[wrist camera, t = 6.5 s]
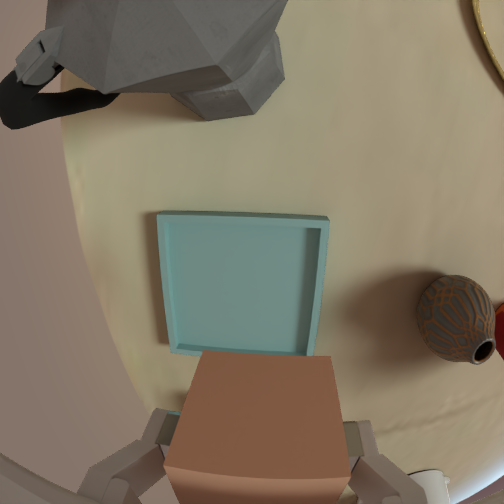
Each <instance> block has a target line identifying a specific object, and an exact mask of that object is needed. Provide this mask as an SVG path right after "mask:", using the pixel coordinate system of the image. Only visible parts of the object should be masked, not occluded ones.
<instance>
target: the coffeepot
mask: <svg viewBox="0 0 504 504" xmlns="http://www.w3.org/2000/svg"><path fill="white" fill-rule="evenodd" d="M287 1H288V0H48V6H47V15H46V26H45V30H43V31H40V32H39V33H38V34H37V35H36V37H35V38H34V39H33V40H32V41H31V42H30V43H29V44H28V45H27V46H26V47H25V49H24V50H23V51H22V52H21V53H20V55H19V56H18V57H17V58H16V63H17V66H16V67H15V68H14V69H13V71H11V72H10V74H8V75H7V76H6V77H5V78H4V79H3V80H2V82H1V83H0V117H1V120H2V122H3V124H4V125H5V126H7V127H8V128H10V129H20V128H24V127H27V126H30V125H33V124H36V123H39V122H42V121H46V120H49V119H53V118H57V117H62V116H66V115H71V114H75V113H79V112H83V111H87V110H91V109H96V108H102V107H105V106H107V105H108V104H110V103H111V102H112V101H113V100H114V99H115V98H116V97H117V96H118V95H119V94H120V93H129V92H160V93H170V95H171V96H172V97H174V98H175V99H176V100H178V101H179V102H181V103H182V104H184V105H185V106H187V107H188V108H189V109H191V110H192V111H194V112H195V113H197V114H198V115H199V116H201V117H202V118H204V119H205V120H206V121H211V120H217V119H225V118H232V117H238V116H245V115H253V114H255V113H256V112H257V111H258V110H259V109H260V107H261V106H262V105H263V104H264V103H265V102H266V101H267V99H268V98H269V97H270V96H271V94H272V93H273V92H274V91H275V90H276V89H277V87H278V86H279V85H280V84H281V83H282V82H283V80H284V79H285V77H284V70H283V63H282V56H281V50H280V44H279V37H278V36H277V34H276V32H275V29H276V26H277V24H278V22H279V19H280V17H281V15H282V13H283V10H284V8H285V6H286V3H287ZM64 68H66V69H68V70H69V71H71V72H72V73H74V74H75V75H76V76H78V77H79V78H81V79H82V80H84V81H85V82H87V83H88V84H90V85H91V86H93V87H94V88H96V89H97V90H90V89H85V88H76V89H72V90H69V91H66V92H60V93H38V92H39V91H40V90H41V89H42V88H43V87H44V86H45V85H47V84H48V83H49V82H50V81H51V80H53V78H55V77H56V76H57V75H58V74H59V73H60V72H61V71H62V70H63V69H64Z"/></svg>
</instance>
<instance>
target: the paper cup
mask: <svg viewBox="0 0 504 504" xmlns="http://www.w3.org/2000/svg"><path fill="white" fill-rule="evenodd" d="M494 336H495V341H496V347H495V348H496V350H497V351H498V352H499V354H500V355H501V357H502V358H503V360H504V303H503V304H502V305H501V306H500V307H499V308H498V309H497V310H496V312H495V332H494Z"/></svg>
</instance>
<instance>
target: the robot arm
mask: <svg viewBox="0 0 504 504" xmlns="http://www.w3.org/2000/svg"><path fill="white" fill-rule="evenodd" d="M180 415H181V413H180V412H175V411H170V410H164V409H159V408H156V409H155V410H154V411H153V413H152V415H151V417H150V420H149V422H148V424H147V427H146V429H145V431H144V434H143V436H142V438H141V440H135V441H134V442H132V443H131V444H129V445H127V446H126V447H124V448H122V449H121V450H119V451H118V452H116V453H114V454H112V455H111V456H109V457H107V458H106V459H104V460H102V461H100V462H99V463H97V464H95V465H93V466H92V467H90V468H89V470H88V472H87V474H86V476H85V478H84V480H83V482H82V484H81V486H80V488H79V490H78V492H77V494H76V493H74V492H72V491H70V490H67V489H65V488H63V487H61V486H59V485H57V484H55V483H53V482H50V481H48V480H47V479H45V478H43V477H41V476H39V475H37V474H35V473H33V472H32V471H30V470H28V469H26V468H24V467H23V466H21V465H19V464H18V463H16V462H14V461H13V460H11V459H9V458H8V457H6V456H5V455H3V454H2V453H0V504H142V503H141V502H140V500H139V499H138V497H139V496H140V495H142V494H143V493H144V492H145V491H147V490H148V489H149V488H150V487H151V486H153V485H154V484H155V483H156V482H157V481H159V480H160V479H161V478H162V477H163V476H164V475H166V474H167V473H166V471H165V469H164V466H163V464H164V461H165V458H166V455H167V453H168V450H169V447H170V444H171V441H172V438H173V435H174V432H175V429H176V426H177V423H178V420H179V418H180ZM343 426H344V432H345V438H346V445H347V451H348V457H349V464H350V471H351V478H350V480H349V482H348V485H349V486H350V487H351V489H352V490H353V491H354V492H355V493H356V495H357V496H358V497H359V498H358V501H357V504H450V500H449V495H448V490H447V484H449V482H450V481H449V478H448V477H444V476H443V473H442V472H441V471H438V470H429V471H423V472H419V473H415V474H412V475H409V476H408V475H407V474H406V473H404V472H403V471H402V470H401V469H400V468H398V467H397V466H396V465H395V464H394V463H392V462H391V461H390V460H389V459H388V458H387V457H385V456H384V455H383V454H380V455H379V452H378V448H377V444H376V440H375V436H374V432H373V428H372V424H371V422H370V421H369V420H365V421H345V422H343ZM470 504H504V489H503V490H501V491H498V492H496V493H494V494H492V495H490V496H487V497H485V498H483V499H480V500H478V501H475V502H473V503H470Z"/></svg>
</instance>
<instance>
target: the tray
mask: <svg viewBox="0 0 504 504" xmlns="http://www.w3.org/2000/svg"><path fill="white" fill-rule="evenodd" d="M156 216H157V232H158V246H159V258H160V269H161V280H162V289H163V298H164V307H165V315H166V323H167V330H168V337H169V344H170V351H171V353H175V354H183V355H191V356H200V357H201V355H202V352H203V350H210V351H221V352H233V353H247V354H264V355H287V356H313V354H314V348H315V342H316V335H317V328H318V321H319V314H320V307H321V299H322V291H323V283H324V275H325V266H326V256H327V247H328V236H329V225H330V220H329V219H328V217H327V216H313V215H293V214H271V213H245V212H211V211H162V212H160V213H159V214H157V215H156Z"/></svg>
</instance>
